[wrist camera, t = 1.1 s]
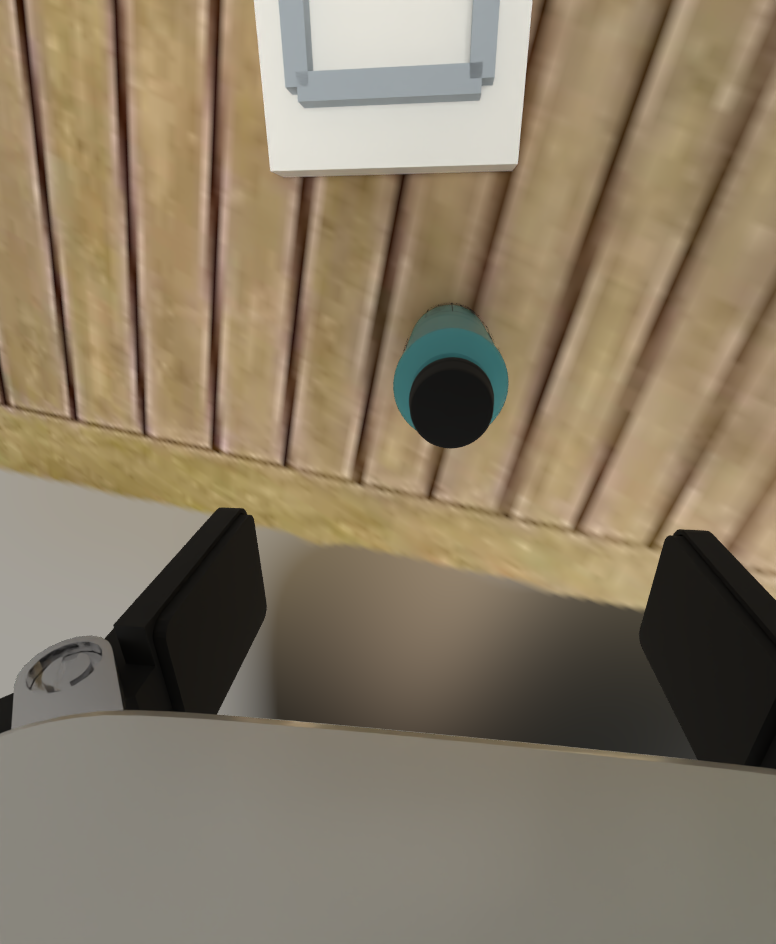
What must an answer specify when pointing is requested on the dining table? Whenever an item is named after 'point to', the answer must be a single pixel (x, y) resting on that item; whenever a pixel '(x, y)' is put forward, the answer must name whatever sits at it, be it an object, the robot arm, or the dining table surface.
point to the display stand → (392, 85)
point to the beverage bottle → (450, 377)
